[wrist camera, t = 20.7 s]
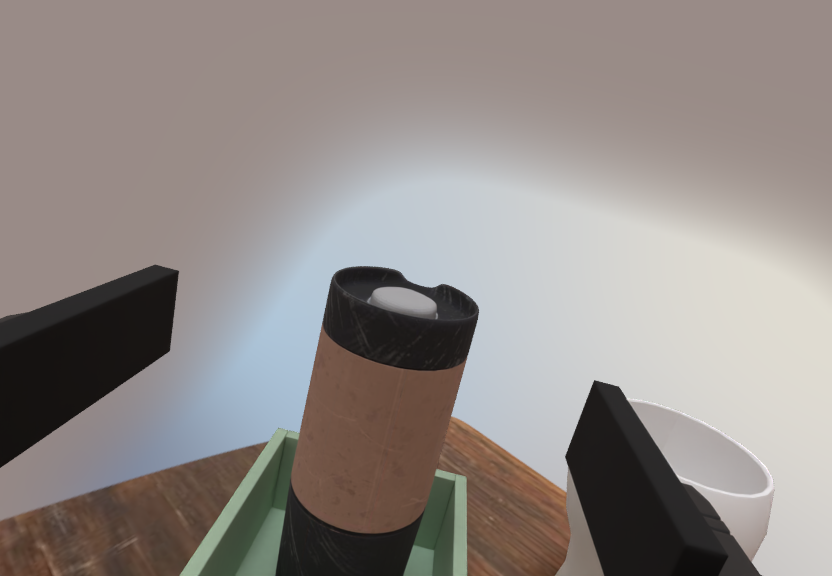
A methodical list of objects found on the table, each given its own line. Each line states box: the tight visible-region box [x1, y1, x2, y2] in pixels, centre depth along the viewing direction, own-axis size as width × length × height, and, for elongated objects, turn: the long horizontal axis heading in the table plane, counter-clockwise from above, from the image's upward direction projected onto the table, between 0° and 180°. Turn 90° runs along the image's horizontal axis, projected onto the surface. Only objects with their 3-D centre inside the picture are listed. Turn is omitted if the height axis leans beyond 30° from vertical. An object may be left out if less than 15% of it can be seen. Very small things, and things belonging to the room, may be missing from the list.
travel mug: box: [275, 266, 479, 576], centre depth 28 cm, size 8×8×20 cm
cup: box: [555, 398, 774, 576], centre depth 32 cm, size 11×11×15 cm
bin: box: [180, 428, 467, 576], centre depth 30 cm, size 14×14×7 cm
